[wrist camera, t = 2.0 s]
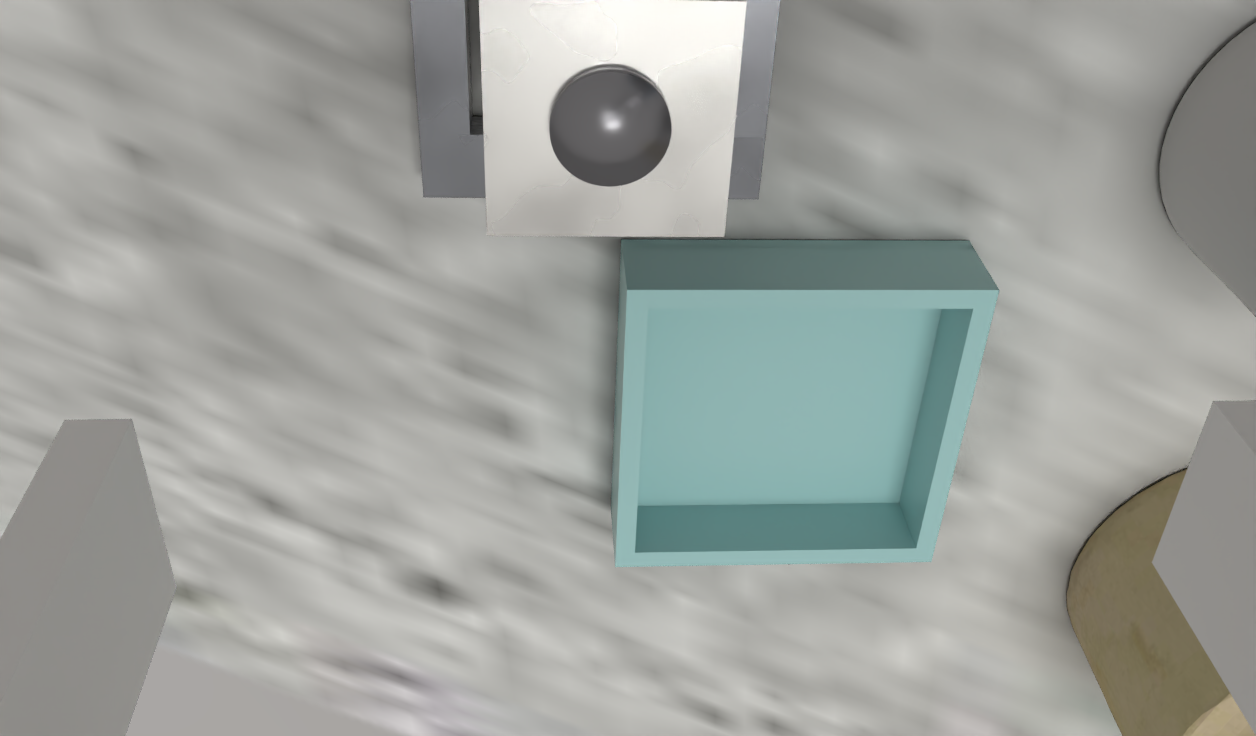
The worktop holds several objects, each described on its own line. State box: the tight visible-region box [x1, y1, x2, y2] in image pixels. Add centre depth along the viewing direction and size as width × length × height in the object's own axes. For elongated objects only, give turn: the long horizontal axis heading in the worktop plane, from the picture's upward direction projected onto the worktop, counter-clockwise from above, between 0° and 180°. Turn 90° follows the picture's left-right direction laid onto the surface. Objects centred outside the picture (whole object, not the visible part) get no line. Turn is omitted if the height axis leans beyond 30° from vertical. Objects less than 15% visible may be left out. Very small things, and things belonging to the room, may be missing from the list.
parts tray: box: [611, 239, 999, 567], centre depth 36 cm, size 10×10×3 cm
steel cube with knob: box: [479, 0, 747, 237], centre depth 27 cm, size 5×5×8 cm
